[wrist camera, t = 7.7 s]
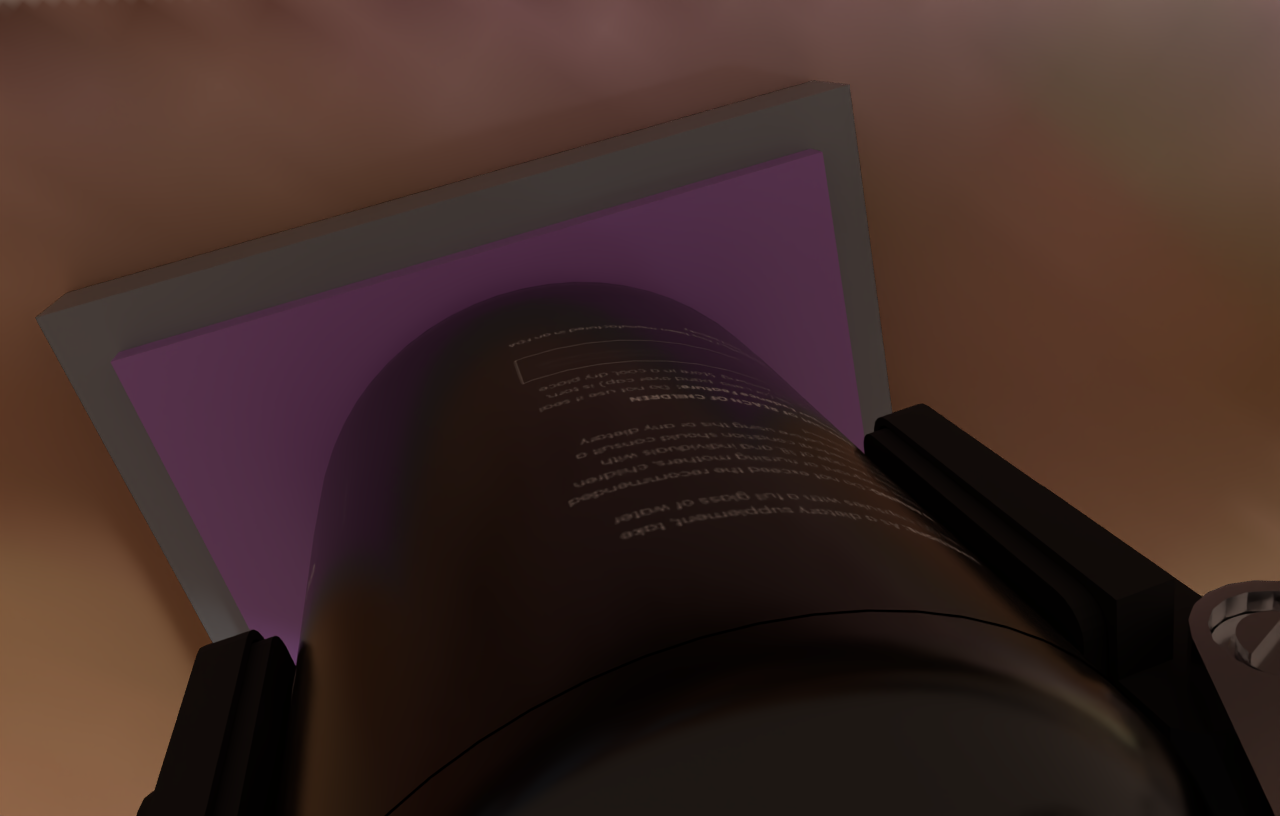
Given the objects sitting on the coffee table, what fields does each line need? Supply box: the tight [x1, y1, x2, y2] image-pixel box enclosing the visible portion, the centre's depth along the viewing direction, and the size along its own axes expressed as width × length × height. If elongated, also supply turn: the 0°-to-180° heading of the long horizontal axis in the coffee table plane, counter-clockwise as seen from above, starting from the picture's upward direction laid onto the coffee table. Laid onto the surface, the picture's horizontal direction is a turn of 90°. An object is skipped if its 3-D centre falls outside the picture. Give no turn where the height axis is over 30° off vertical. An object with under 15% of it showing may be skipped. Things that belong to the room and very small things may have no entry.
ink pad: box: [35, 81, 892, 665], centre depth 14 cm, size 11×9×2 cm
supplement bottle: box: [275, 282, 1216, 816], centre depth 8 cm, size 7×7×12 cm
